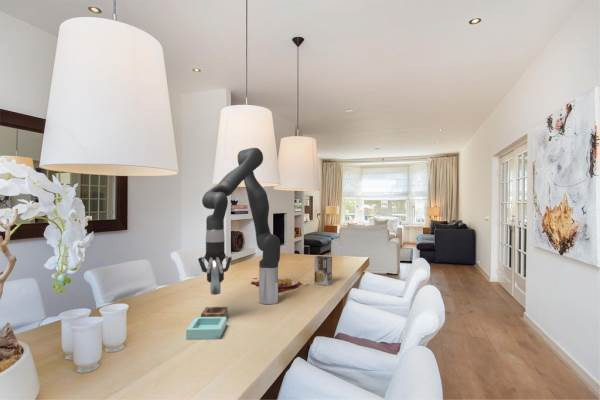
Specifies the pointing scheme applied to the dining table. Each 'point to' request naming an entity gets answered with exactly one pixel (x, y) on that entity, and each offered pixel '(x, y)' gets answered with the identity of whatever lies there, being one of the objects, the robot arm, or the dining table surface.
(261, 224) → the robot arm
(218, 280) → the pin
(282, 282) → the plate with food
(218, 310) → the holder
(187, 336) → the tray
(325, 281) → the coffee box
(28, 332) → the dining table surface
